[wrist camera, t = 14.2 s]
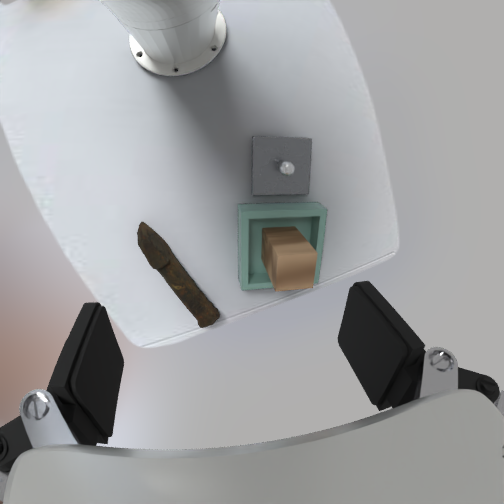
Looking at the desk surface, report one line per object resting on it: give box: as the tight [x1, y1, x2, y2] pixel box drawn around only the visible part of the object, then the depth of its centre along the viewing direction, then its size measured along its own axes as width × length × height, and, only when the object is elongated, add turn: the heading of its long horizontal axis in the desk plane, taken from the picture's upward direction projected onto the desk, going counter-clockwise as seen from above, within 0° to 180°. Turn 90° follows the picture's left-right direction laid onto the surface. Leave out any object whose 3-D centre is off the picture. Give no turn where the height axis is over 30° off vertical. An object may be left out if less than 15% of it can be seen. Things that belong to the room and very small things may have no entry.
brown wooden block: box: [261, 226, 318, 292], centre depth 39 cm, size 5×5×9 cm
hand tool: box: [137, 222, 220, 328], centre depth 41 cm, size 19×4×5 cm, turn 24°
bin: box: [238, 202, 327, 290], centre depth 42 cm, size 12×12×4 cm
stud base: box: [252, 137, 312, 195], centre depth 36 cm, size 8×8×4 cm
